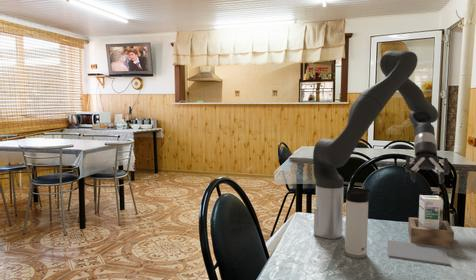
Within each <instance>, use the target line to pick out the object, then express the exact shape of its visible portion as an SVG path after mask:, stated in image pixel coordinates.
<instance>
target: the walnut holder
mask: <svg viewBox="0 0 476 280" xmlns="http://www.w3.org/2000/svg"><path fill="white" fill-rule="evenodd" d="M407 226H408V227H407V230H408V237H409V241H410V243H416V244H423V245H431V246H439V247H443V248H450V249H454V241H455V239H454V238H455V231H454V230H453V229H452V227H451V225H450V223H449V222H448V220H442V230H439V229H430V228H421V227H419V217H412V216H411V217H409V216H408V225H407Z"/></svg>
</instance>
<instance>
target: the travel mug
mask: <svg viewBox="0 0 476 280" xmlns="http://www.w3.org/2000/svg"><path fill="white" fill-rule="evenodd" d="M369 193H371V191H370V188H353V189H348V190H347V191H346V199H345V202H346V203H345V230H344V232H345V233H344V235H345V236H344V254H345V256H347V257H350V258H353V259H363V258H365V257H367V255H368V251H367V250H368V225H369V224H368V223H369V221H368V220H369Z"/></svg>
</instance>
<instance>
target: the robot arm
mask: <svg viewBox="0 0 476 280" xmlns="http://www.w3.org/2000/svg"><path fill="white" fill-rule="evenodd" d="M418 61H419V60H418V56H417V54H416V53H415V52H413V51H409V50H395V49H394V50H387V51H385V52H383V54H382V56H381V58H380V60H379V67H380V68H379V69H380V70H381V72H382V74H383V75H384V76H385V77H384V78H383V79H382V80H380V81H378V82H376V83H375V84H373V85H371V86H370V87H368V88H366V89H364V90H363V91H362V92H361V93H360V94H359V95H358V97H357V98H356V99H354V102H353V103H352V104H351V106H350V109H349V111H348V116H347V117H348V118H347V123H346V126H345V127H344V129H343V130H342V131H341V133H340V134H339V135H338V136H337V137H336V138H335V139H332V138H321V139H319V140H318V141H317V142H316V143H315V144H314V148H313V151H312V153H313V154H312V159H313V160H312V164H313V165H312V166H313V176H314V179H315V206H314V209H313V236H317V237H320V238H323V239H327V240H328V239H329V240H332V239H334V240H336V239H340V238H342V237H343V226H344V225H343V222H344V221H343V219H344V188H345V187H344V185H345V184H344V181H345V179H344V177H342V175H340V174H339V172H338V170H337V168H341V167H343V166H344V165H345V164H346V163H347V162H348V161H349V159H350V158H351V157H352V154H353V153H354V151H355V150H356V148H357V146H358V144H359V142H360V141H361V139H362V138H363V136H364V135H365V134H366V132H368V129H369V128H370V127H371V125H372V124H373V122H375V120H376V119H377V118H378V116H379V115H380V114H381V113H382V111H383V110H384V108H385V106H386V105H387V104H388V102H389V101H390V99H392V97H393V96H394V95H395V94H396V92H397V91H398V92H399V94H400V95H401V97H402V98H403V100H404V101H405V104H406V106H407V108H408V109H409V110H410V112H409V115H408V117H409V118H408V119H409V121H410V123H411V125H412V127H413V130H414V145H413V148H414V157H410V156H409V155H407V156H406V157H405V169H404V170H405V171H404V172H406V173H408V174H410V180H411V181H412V183H416V180H417V179H416V173H417V172H418V171H419V170H420V169H421V170H423V171H424V170H426V171H427V170H428V171H431V170H432V171H433V172H434V173H437V174H438V181H439V185H442V184H443V183H445V176H448V175H449V174H450V166H449V165H450V164H449V160H448V158H447V157H444V158H439V157H438V149H437V148H438V147H437V140H436V135H435V127H434V125H433V123H435V122H436V121H437V120H439V111H438V109H437V108H436V107H435V106H434V105H433V104H432V103H430V101H429V100H428V99H426V96H425V94H424V92H423V90H422V89H421V87H419V86H418V85H417V83H415V82H414V81H412V80H411V79H410V77H411V76H412V75H413V73H414V72H415V70H416V68H417V66H418ZM412 163H414V165H413V166H412V167H410V164H412ZM439 163H440V164H441V165H440V164H439ZM441 166H443V168H442V167H441Z"/></svg>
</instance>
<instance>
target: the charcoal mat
mask: <svg viewBox="0 0 476 280" xmlns="http://www.w3.org/2000/svg"><path fill="white" fill-rule="evenodd" d="M387 253H388V258H394V259H401V260H408V261H414V262H422V263H429V264H436V265H442V266H450V267H451V266H452V264H451V261H450V259H449V257H448V255H447V252H446V250H445V247H440V246H432V245H424V244H416V243H411V242H405V241H396V240H391V239H390V240H389V239H387Z"/></svg>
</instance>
